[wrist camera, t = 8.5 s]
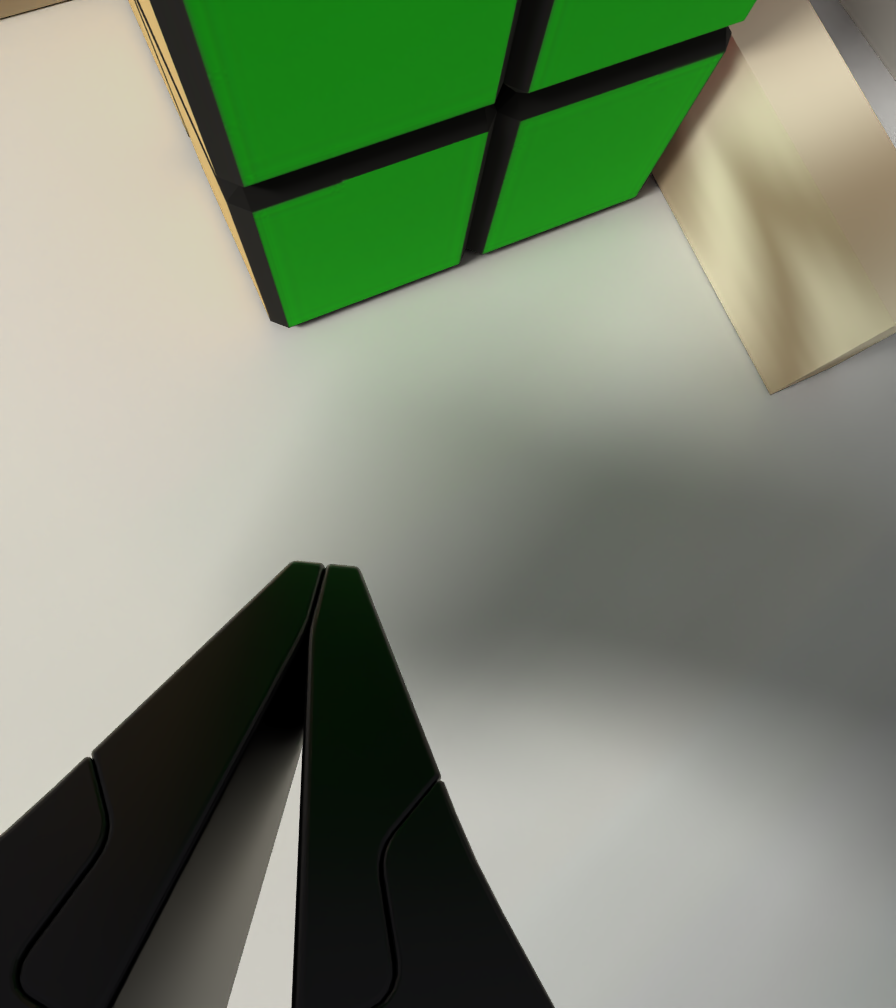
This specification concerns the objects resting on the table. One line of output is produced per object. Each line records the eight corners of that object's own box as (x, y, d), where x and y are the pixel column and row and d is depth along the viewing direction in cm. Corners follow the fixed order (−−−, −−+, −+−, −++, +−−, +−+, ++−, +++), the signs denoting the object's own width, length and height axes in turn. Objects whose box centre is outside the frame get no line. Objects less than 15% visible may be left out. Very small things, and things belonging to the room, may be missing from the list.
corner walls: (835, 365, 16) (977, 288, 13) (142, 679, 14) (45, 706, 10) (528, -192, 18) (568, -410, 14) (-135, -21, 16) (-310, -236, 12)
